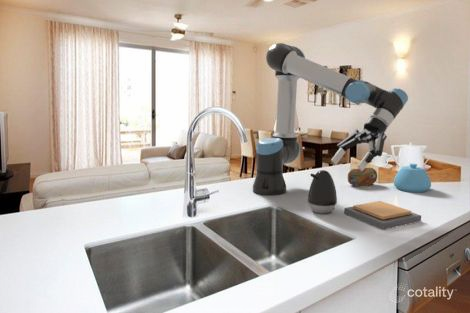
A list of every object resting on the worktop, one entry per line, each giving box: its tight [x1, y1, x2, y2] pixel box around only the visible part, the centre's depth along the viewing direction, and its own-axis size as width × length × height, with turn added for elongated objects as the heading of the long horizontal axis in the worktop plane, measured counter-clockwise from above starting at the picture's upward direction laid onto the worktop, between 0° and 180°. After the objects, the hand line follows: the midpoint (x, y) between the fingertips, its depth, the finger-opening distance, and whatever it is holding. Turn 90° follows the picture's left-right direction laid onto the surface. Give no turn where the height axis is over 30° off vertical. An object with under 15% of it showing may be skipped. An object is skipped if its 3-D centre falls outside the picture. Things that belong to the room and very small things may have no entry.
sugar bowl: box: [393, 163, 432, 193], centre depth 147 cm, size 15×15×12 cm
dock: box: [343, 206, 422, 230], centre depth 111 cm, size 17×17×2 cm
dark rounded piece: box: [307, 169, 338, 214], centre depth 117 cm, size 10×10×15 cm
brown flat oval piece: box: [347, 167, 378, 187], centre depth 155 cm, size 15×3×8 cm, turn 105°
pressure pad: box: [352, 200, 412, 220], centre depth 111 cm, size 13×13×1 cm
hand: (345, 165), depth 120 cm, fingers open, 13 cm apart
